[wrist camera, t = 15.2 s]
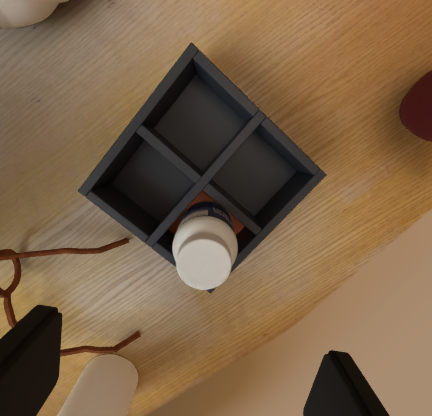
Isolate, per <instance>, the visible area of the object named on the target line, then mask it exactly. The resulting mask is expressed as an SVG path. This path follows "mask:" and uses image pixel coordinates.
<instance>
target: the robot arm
mask: <svg viewBox="0 0 432 416" xmlns="http://www.w3.org/2000/svg"><path fill="white" fill-rule="evenodd" d="M61 329H62V313H58V309H57V308H56V307H51V306H44V305H37V306H36V307H34V308H33V309H32V310H31V311H30V312H29V313H28V314H27V315H26V316H25V317H24V318H22V319H21V320H20V321H19V322H18V323H17V324H16V325H15V326H14V327H13V328H12V329H11V330H10V331H9V332H7V333H6V334H5V335H4V336H3V337H2V338H1V339H0V416H36V415H37V414H38V412H39V410H40V409H41V407H42V406H43V404H44V403H45V401H46V399H47V398H48V396H49V395H50V393H51V392H52V390H53V388H54V387H55V385H56V383H57V380H58V377H59V366H60V348H61ZM303 415H304V416H389V414H388V413H387V411H386V410H385V408H384V407H383V405H382V403H381V402H380V400H379V399H378V397H377V396H376V394H375V393H374V391H373V390H372V388H371V387H370V385H369V384H368V382H367V380H366V379H365V377H364V376H363V374H362V373H361V371H360V370H359V368H358V367H357V365H356V364H355V362H354V361H353V359H352V357H351V356H350V355H349V354H348V353H345V352H339V351H332V350H331V351H329V353H328V354H325V355H324V357H323V360H322V362H321V365H320V367H319V370H318V373H317V375H316V378H315V380H314V383H313V386H312V388H311V391H310V393H309V396H308V399H307V401H306V404H305V407H304V411H303Z"/></svg>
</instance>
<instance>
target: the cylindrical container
mask: <svg viewBox="0 0 432 416" xmlns="http://www.w3.org/2000/svg"><path fill="white" fill-rule="evenodd" d="M137 384H138V372H137V370H136V368H135V366H134V365H133V364H132V363H131V362H130V361H129V360H127V359H125V358H124V357H121V356H118V355H113V354H104V355H100V356H97V357H95V358H93V359H92V360H90V361H89V362H88V363H87V365H86V366H85V368H84V370H83V372H82V373H81V375H80V377H79V378H78V380H77V382H76V384H75V385H74V387H73V389H72V391H71V392H70V394H69V396H68V398H67V399H66V401H65V403H64V404H63V406H62V408H61V410H60V411H59V413H58V415H57V416H127V415H128V412H129V409H130V406H131V403H132V399H133V396H134V393H135V390H136V387H137Z"/></svg>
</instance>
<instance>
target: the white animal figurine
mask: <svg viewBox="0 0 432 416" xmlns="http://www.w3.org/2000/svg"><path fill="white" fill-rule="evenodd" d="M66 1H69V0H0V27H4V28H18V27H24V26H28V25H32V24H35V23H38V22H41V21H43V20H44V19H46V18H47V17H48V16H50V15H51V13H52V12H53V11H54V10H55V8H56V7H57V5H58V4H59V3H63V2H66Z"/></svg>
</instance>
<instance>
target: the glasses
mask: <svg viewBox="0 0 432 416" xmlns="http://www.w3.org/2000/svg"><path fill="white" fill-rule="evenodd" d="M126 243H129V240H128V239H127V238H125V239H122V240H119V241H116V242H114V243H111V244H108V245H105V246H102V247H100V248H88V249H78V248H61V249H52V250H42V251H33V252H23V253H16V252H15V251H14V250H11V249H4V250H0V260H8V259H12V261H13V263H14V268H15V275H14V279H13V282H12V284H11V285H10V286H9V287H8V288H7V289H6V290H3V289H1V288H0V297H1V298H3V297H4V309H5V312H6V316H7V319H8V323H9V325H10V326H11V327H12V328H13V327H14V326H15V325H16V324H17V323H18V322H19V321H18V322H17V321H16V319H15V315H14V311H13V308H12V304H11V293H12V292H13V291H14V290H15V288H16V287H17V285H18V284H19V281H20V278H21V264H20V260H19V258H27V257H36V256H45V255H54V254H63V253H71V254H96V253H102V252H105V251H108V250H110V249H113V248H116V247H118V246H121V245H124V244H126ZM139 337H141V335H140V333H139V332H136V333H135V334H133V335H131V336H130V337H128V338H127V339H125V340H123V341H122V342H120V343H119V344H117V345H115V346H114V347H94V346H81V347H75V348H69V349H64V350H60V356H66V355H71V354H77V353H82V352H91V353H113V352H117V351H119V350H120V349H122V348H124V347H125V346H127V345H128V344H130V343H131V342H133V341H134V340H136V339H137V338H139Z"/></svg>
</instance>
